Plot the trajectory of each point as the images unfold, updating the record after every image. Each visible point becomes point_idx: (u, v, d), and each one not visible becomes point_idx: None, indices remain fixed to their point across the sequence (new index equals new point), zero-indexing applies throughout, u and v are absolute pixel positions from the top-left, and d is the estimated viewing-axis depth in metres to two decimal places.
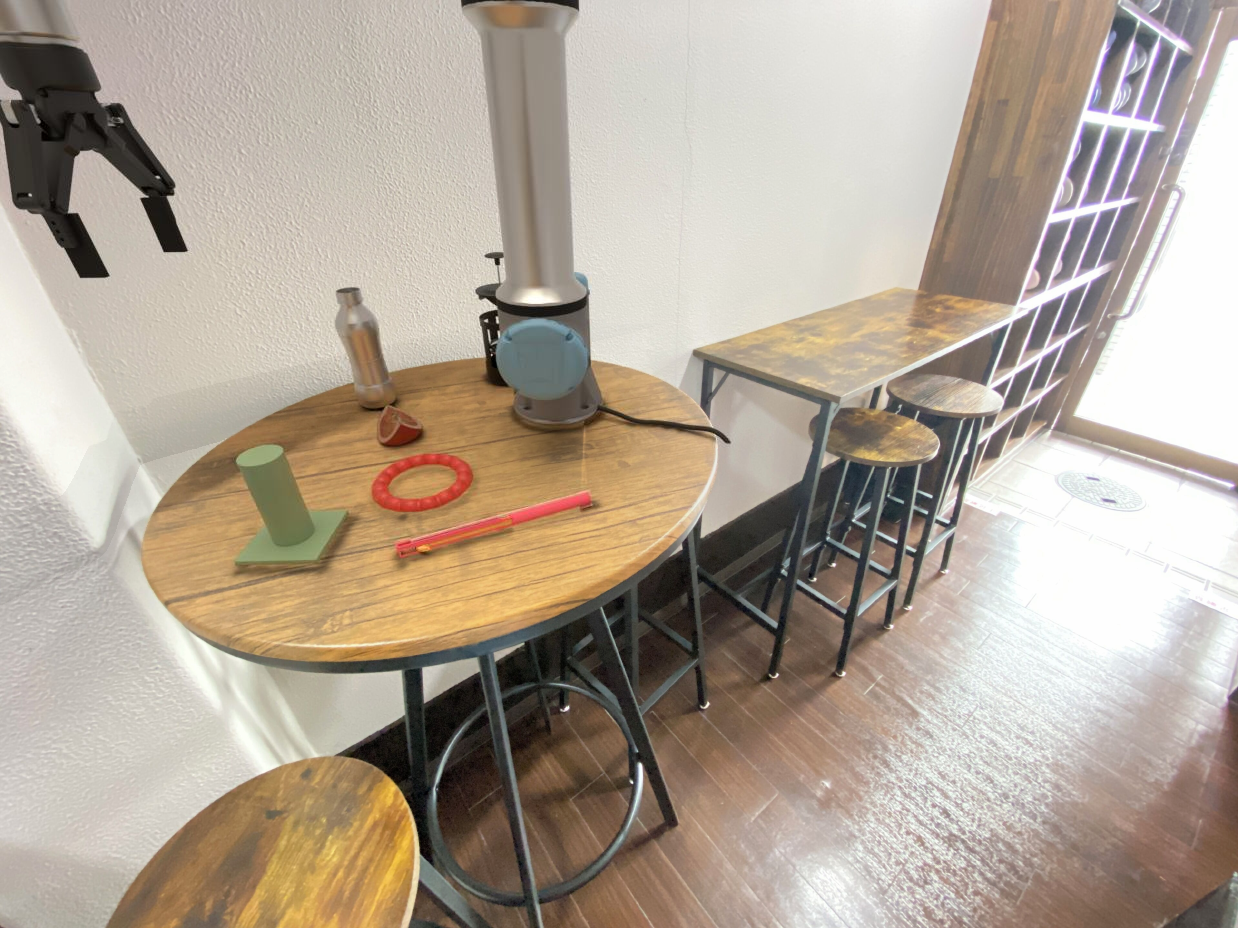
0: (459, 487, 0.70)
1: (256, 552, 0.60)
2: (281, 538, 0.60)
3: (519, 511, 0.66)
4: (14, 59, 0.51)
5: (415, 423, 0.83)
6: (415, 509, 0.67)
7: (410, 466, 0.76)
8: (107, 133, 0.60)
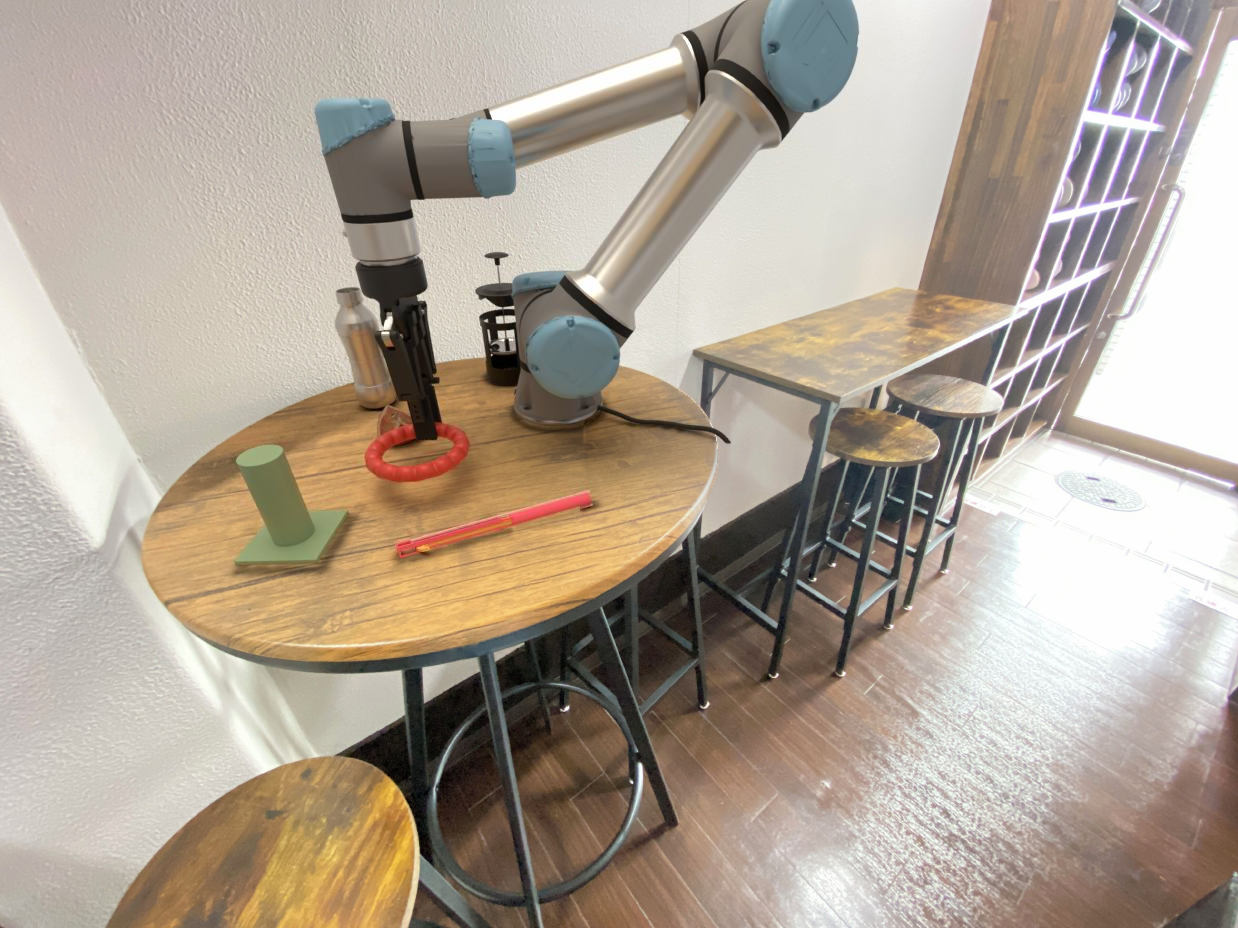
0: (456, 454, 0.68)
1: (256, 552, 0.60)
2: (281, 538, 0.60)
3: (519, 511, 0.66)
4: (384, 280, 0.60)
5: None
6: (411, 476, 0.65)
7: (404, 435, 0.73)
8: (421, 318, 0.68)
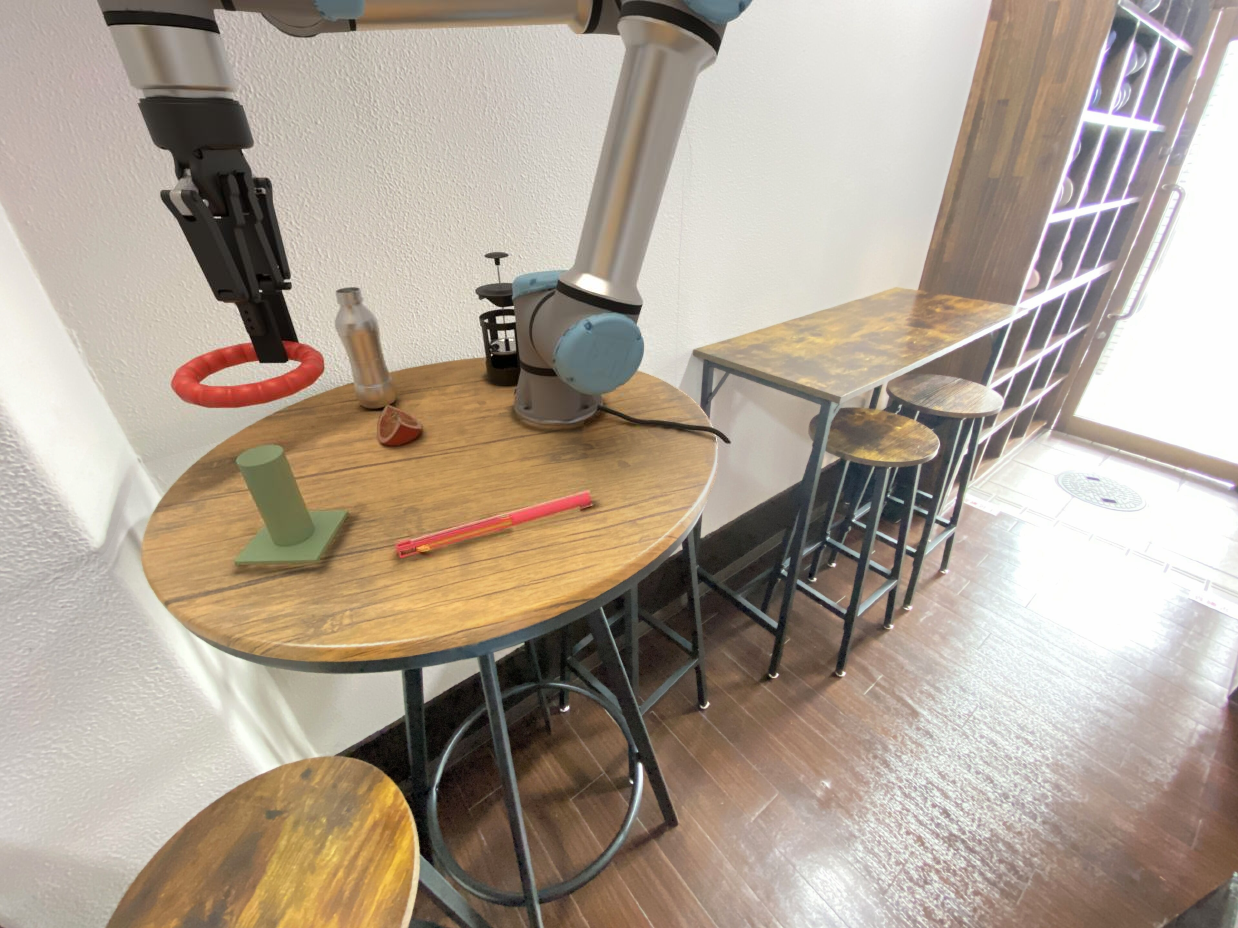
0: (296, 375, 0.51)
1: (256, 552, 0.60)
2: (281, 538, 0.60)
3: (519, 511, 0.66)
4: (172, 117, 0.43)
5: (415, 423, 0.83)
6: (224, 399, 0.48)
7: (241, 355, 0.56)
8: (254, 194, 0.51)
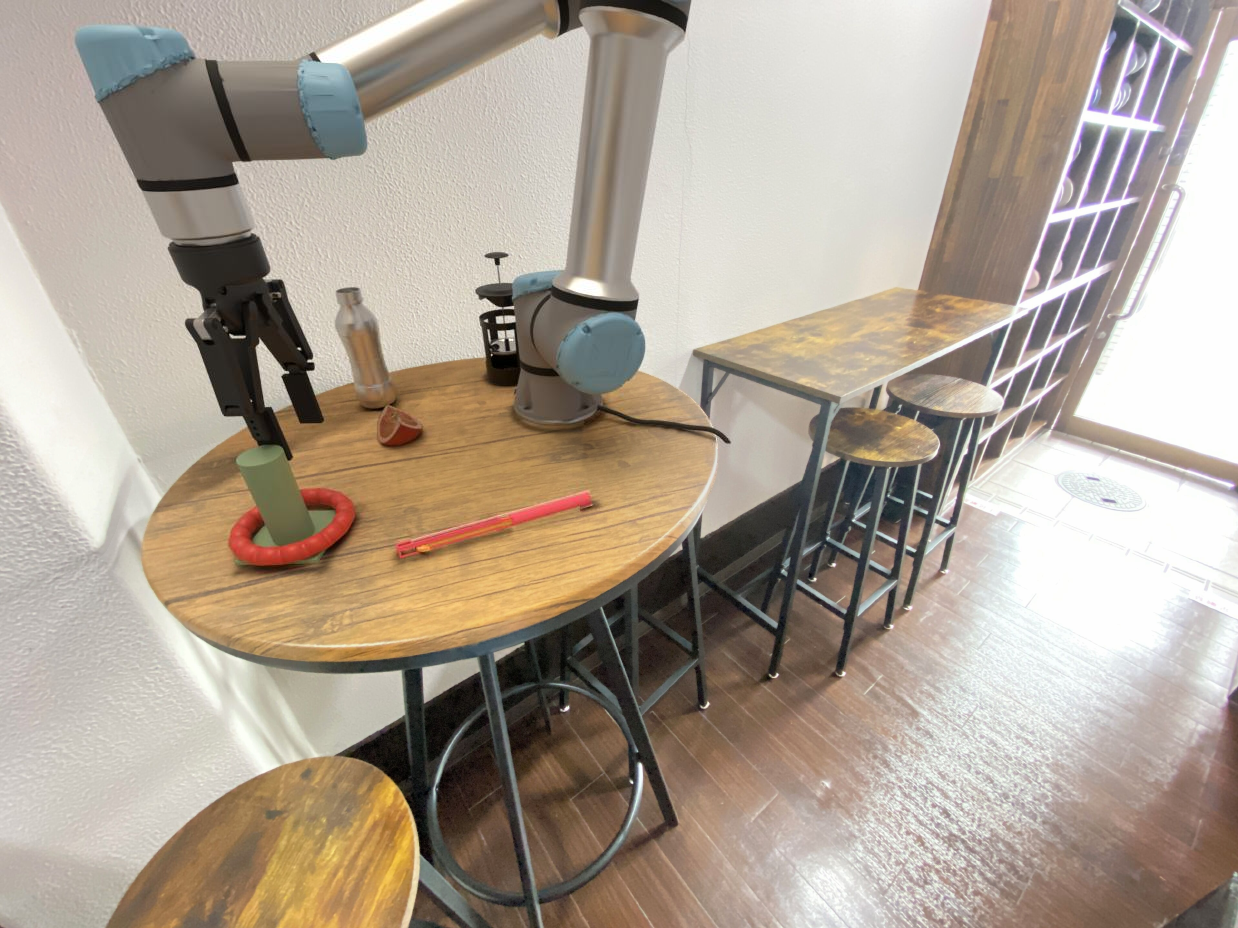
0: (332, 530, 0.61)
1: None
2: (281, 538, 0.60)
3: (519, 511, 0.66)
4: (199, 263, 0.48)
5: (415, 423, 0.83)
6: (275, 559, 0.57)
7: None
8: (271, 309, 0.57)
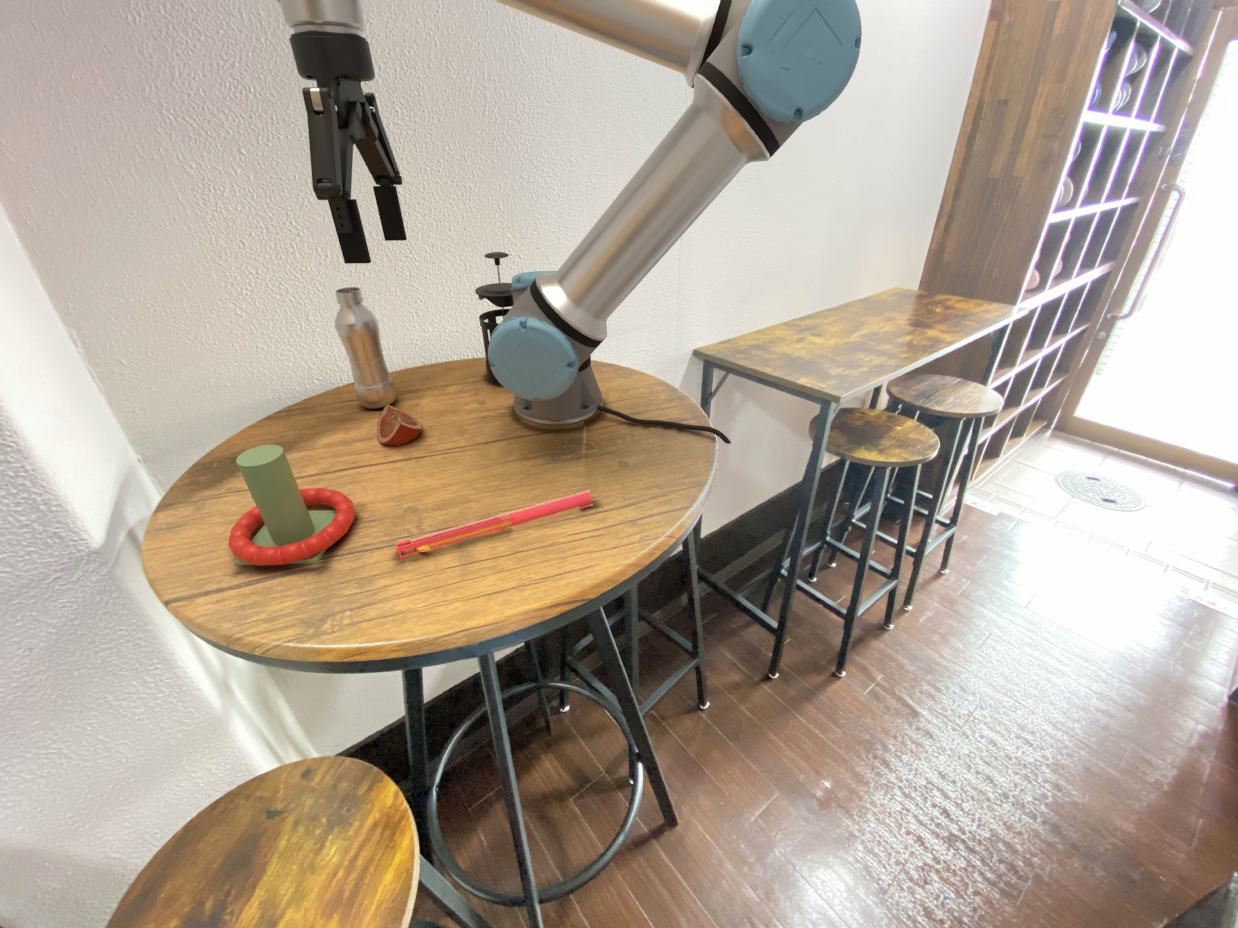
0: (332, 530, 0.61)
1: None
2: (281, 538, 0.60)
3: (519, 511, 0.66)
4: (320, 48, 0.53)
5: (415, 423, 0.83)
6: (275, 559, 0.57)
7: None
8: (370, 122, 0.61)
